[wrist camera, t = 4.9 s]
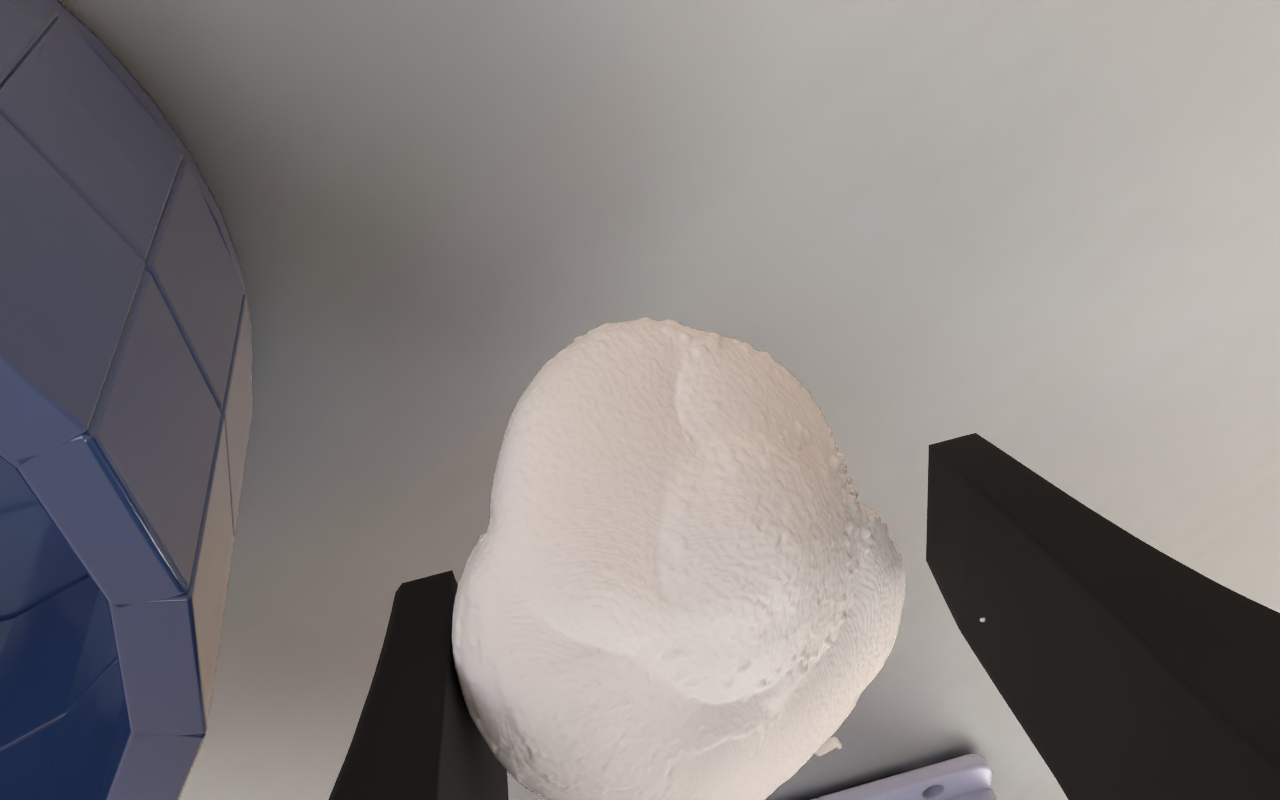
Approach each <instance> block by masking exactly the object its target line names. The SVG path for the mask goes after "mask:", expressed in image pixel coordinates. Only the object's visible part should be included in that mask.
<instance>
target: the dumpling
mask: <svg viewBox="0 0 1280 800" xmlns="http://www.w3.org/2000/svg"><path fill="white" fill-rule="evenodd" d="M837 450H838V447H836V442H835V441H834V438H833V436H832V432H831V429H830V427H829V426H827V425H826V423H825V416H824V415H823V414H822V413H821V412H820V409H819V408H818V406H817V405H816V404H815V403H814V402H813V400H812V399H811V395H810V392H808V391H807V390H806V389H804V388H803V387H802V386H801V385H800V384H799V381H798V380H797V379H795V378H794V377H793V376H792V375H791V374H790V373H789V372H788V371H787V370H786V369H785V368H784V367H782V366H781V365H779V364H778V363H777V362H776V361H774V360H773V358H772V356H771V355H770V353H768V352H765V351H762V352H760V351H755V350H754V349H753V348H752V347H751V345H750V344H748V343H741V342H740V341H739V340H736V339H730V338H728V337H721V336H720V335H719V334H717V333H712V332H703V331H702V330H695V329H693V328H691V327H687V326H684V325H680V324H678V323H677V322H675V321H674V320H669V319H668V320H664V321H654V320H652V319H650V318H648V317H645V318H641V319H638V320H636V321H626V322H619V323H606V324H603V325H601V326H599V327H598V328H596V329H592V330H590V331H588V332H587V333H586V334H585V335H583V336H577V337H576V338H575V339H574V340H573V343H572V344H570V345H568V346H567V347H566V348H565V349H563V350H561V351H559V352H558V353H557V354H556V355H555V356H554V357H553V358H552V359H550V360H548V361H547V362H546V363H545V364H544V366H543V367H542V368H541V370H540V371H539V372H538V373H537V375H536V376H535V378H534V379H533V380H532V382H531V383H530V384H529V386H528V387H527V388H526V389H525V391H524V393H523V394H522V396H521V398H520V399H519V401H518V403H517V404H516V407H515V409H514V411H513V413H512V415H511V417H510V420H509V422H508V426H507V429H506V431H505V434H504V439H503V443H502V446H501V449H500V453H499V456H498V460H497V465H496V470H495V473H494V474H493V487H492V491H491V498H490V500H491V505H490V511H491V515H490V524H489V527H488V529H487V532H486V534H482V535H480V537H479V539H478V543H477V545H476V546H474V548H473V550H472V552H471V555H470V557H469V558H468V559H467V560H466V566H465V569H464V571H463V574H462V577H461V579H460V582H459V584H458V588H457V593H456V596H455V602H454V609H453V618H452V645H453V660H454V665H455V669H456V672H457V675H458V679H459V684H460V686H461V690H462V694H463V696H464V700H465V704H466V706H467V708H468V711H469V714H470V716H471V718H472V719H473V721H474V723H475V724H476V726H477V728H478V730H479V731H480V733H481V735H482V736H483V738H484V740H485V741H486V743H487V744H488V746H489V747H490V749H491V751H492V752H493V754H494V756H495V757H496V758H497V759H498V761H499V762H500V763H501V764H502V765H503V767H504V768H505V769H506V770H507V771H508V772H509V773H510V774H511V775H512V776H513V777H514V778H515V779H516V780H517V781H518V782H520V783H521V784H522V785H524V786H525V787H526V788H528V789H530V790H531V791H532V792H534V793H536V794H540V795H542V796H544V797H545V798H547V799H549V800H765V799H766V798H767V797H768V796H769V795H771V794H772V793H773V792H774V791H775V790H776V789H777V788H778V787H779V786H780V785H782V784H783V783H784V782H786V781H787V780H788V779H790V778H791V777H792V776H793V775H794V774H796V773H797V771H798V770H799V769H800V767H801V766H803V765H804V764H805V763H806V762H807V761H808V760H809V759H810V757H811V756H812V755H813V754H816V755H817V756H822V755H824V754H826V753H828V752H829V751H832V750H833V749H835V748H836V747H837V748H838V749H841V748H842V745H841V743H840V742H839V740H838V739H837V737H831V736H832V735H833V734H834V733H835V732H836V731H837V730H838V728H839V727H840V726H841V724H842V723H843V722H844V720H845V719H846V718H847V717H848V716H849V714H850V713H851V712H852V710H853V708H854V707H855V705H856V702H857V700H858V698H859V696H860V695H861V693H862V692H863V690H864V689H866V687H867V686H868V684H869V683H870V682H871V681H872V680H873V679H874V678H875V677H876V675H877V674H878V673H879V672H880V670H881V669H882V667H883V666H884V664H885V662H886V659H887V657H888V656H889V654H890V653H891V651H892V649H893V646H894V643H895V640H896V636H897V633H898V630H899V626H900V619H901V613H902V609H903V603H904V597H905V593H906V591H905V578H906V575H905V570H904V567H903V563H902V558H901V555H900V554H899V553H898V552H897V550H896V549H895V547H894V545H893V542H892V541H891V539H890V537H889V535H888V530H887V525H886V524H885V523H883V522H881V520H880V517H879V516H878V515H877V514H876V513H875V512H873V511H871V510H870V509H868V508H867V507H865V506H861V505H859V504H858V502H857V501H855V500H856V497H857V496H858V492H857V491H856V490H853V489H852V487H851V486H850V485H849V484H850V483H851V482H852V479H851V478H850V477H849V476H847V475H846V471H847V470H846V468H847V467H846V465H845V464H842V461H843V459H844V455H842V454H840V453H838V452H837ZM980 621H981V622H985V621H986V620H985V618H984V617H983V618H980ZM830 737H831V738H830ZM829 738H830V739H829Z"/></svg>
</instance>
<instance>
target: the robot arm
mask: <svg viewBox="0 0 1280 800" xmlns="http://www.w3.org/2000/svg"><path fill="white" fill-rule="evenodd" d="M926 561H927V563H928V565H929V567H930V569H931V572H932V574H933V576H934V578H935V580H936V582H937V584H938V586H939V589H940V591H941V593H942V595H943V597H944V599H945V601H946V603H947V605H948V607H949V609H950V611H951V613H952V615H953V617H954V619H955V621H956V623H957V625H958V627H959V629H960V631H961V633H962V634H963V636H964V637H965V639H966V641H967V642H968V644H969V645H970V647H971V649H972V650H973V652H974V653H975V655H976V656H977V658H978V659H979V661H980V663H981V664H982V666H983V667H984V669H985V670H986V672H987V673H988V675H989V677H990V678H991V680H992V681H993V683H994V684H995V686H996V687H997V689H998V690H999V692H1000V694H1001V695H1002V697H1003V698H1004V700H1005V701H1006V703H1007V704H1008V706H1009V707H1010V709H1011V710H1012V712H1013V713H1014V715H1015V716H1016V718H1017V720H1018V721H1019V723H1020V724H1021V726H1022V727H1023V729H1024V730H1025V732H1026V733H1027V735H1028V736H1029V738H1030V739H1031V741H1032V743H1033V744H1034V746H1035V747H1036V749H1037V750H1038V752H1039V753H1040V755H1041V756H1042V758H1043V759H1044V761H1045V762H1046V764H1047V766H1048V767H1049V769H1050V770H1051V772H1052V773H1053V775H1054V776H1055V778H1056V779H1057V781H1058V783H1059V784H1060V786H1061V788H1062V789H1063V791H1064V793H1065V794H1066V796H1067V798H1068V800H1280V613H1278V612H1276V611H1274V610H1272V609H1269V608H1267V607H1265V606H1263V605H1261V604H1259V603H1257V602H1255V601H1253V600H1250V599H1248V598H1246V597H1244V596H1242V595H1240V594H1238V593H1236V592H1234V591H1232V590H1230V589H1228V588H1226V587H1224V586H1222V585H1220V584H1218V583H1216V582H1215V581H1213V580H1211V579H1209V578H1207V577H1205V576H1203V575H1202V574H1200V573H1198V572H1196V571H1194V570H1193V569H1191V568H1189V567H1187V566H1185V565H1183V564H1182V563H1180V562H1178V561H1176V560H1174V559H1173V558H1171V557H1169V556H1167V555H1165V554H1164V553H1162V552H1160V551H1158V550H1157V549H1155V548H1153V547H1151V546H1150V545H1148V544H1146V543H1145V542H1143V541H1141V540H1140V539H1138V538H1136V537H1134V536H1133V535H1131V534H1130V533H1128V532H1126V531H1125V530H1123V529H1122V528H1120V527H1118V526H1117V525H1115V524H1113V523H1112V522H1110V521H1109V520H1107V519H1105V518H1104V517H1102V516H1101V515H1099V514H1097V513H1096V512H1094V511H1093V510H1091V509H1089V508H1088V507H1086V506H1085V505H1083V504H1082V503H1080V502H1079V501H1077V500H1075V499H1074V498H1072V497H1071V496H1069V495H1068V494H1066V493H1065V492H1063V491H1062V490H1060V489H1059V488H1057V487H1056V486H1054V485H1053V484H1051V483H1050V482H1048V481H1047V480H1045V479H1044V478H1042V477H1041V476H1039V475H1038V474H1036V473H1035V472H1033V471H1032V470H1030V469H1029V468H1027V467H1026V466H1024V465H1023V464H1021V463H1020V462H1018V461H1017V460H1015V459H1014V458H1012V457H1011V456H1009V455H1008V454H1006V453H1005V452H1003V451H1002V450H1000V449H999V448H997V447H996V446H994V445H993V444H991V443H990V442H988V441H987V440H985V439H984V438H982V437H981V436H979V435H978V434H976V433H974V434H970V435H966V436H962V437H958V438H955V439H951V440H947V441H943V442H939V443H936V444H932V445H929V466H928V507H927V548H926ZM457 588H458V584H457V582H456V579H455V576H454V574H453V571H452V570H451V571H448V572H444V573H440V574H436V575H432V576H429V577H425V578H421V579H417V580H413V581H409V582H406V583H402V584H401V586H400V587H399V588H398V590H397V591H396V593H395V597H394V602H393V607H392V612H391V616H390V620H389V624H388V628H387V632H386V636H385V639H384V643H383V647H382V650H381V654H380V657H379V661H378V664H377V667H376V671H375V674H374V677H373V680H372V684H371V687H370V690H369V693H368V696H367V699H366V702H365V704H364V707H363V710H362V713H361V716H360V719H359V722H358V725H357V728H356V731H355V734H354V737H353V740H352V742H351V745H350V748H349V750H348V753H347V756H346V758H345V761H344V763H343V765H342V768H341V770H340V773H339V775H338V778H337V780H336V783H335V785H334V788H333V790H332V793H331V795H330V798H329V800H508V784H507V770H506V769H505V768H504V767H503V765H502V764H501V763H500V762H499V761H498V759H497V758H496V757H495V756H494V754H493V752H492V751H491V749H490V747H489V746H488V744H487V743H486V741H485V740H484V738H483V736H482V735H481V733H480V731H479V730H478V728H477V726H476V724H475V723H474V721H473V719H472V718H471V716H470V714H469V711H468V708H467V706H466V704H465V700H464V696H463V694H462V690H461V686H460V684H459V679H458V675H457V672H456V669H455V665H454V660H453V645H452V618H453V609H454V602H455V596H456V593H457ZM983 617H984V618H985V620H986V621H985V622H981V621H980V618H983ZM991 780H992V769H991V767H990V765H989V763H988V761H987V760H986V758H985V757H984V756H982V755H980V754H967V755H963V756H960V757H956V758H953V759H950V760H946V761H943V762H939V763H936V764H932V765H929V766H925V767H922V768H918V769H915V770H911V771H908V772H905V773H901V774H898V775H894V776H891V777H887V778H884V779H880V780H877V781H873V782H870V783H866V784H863V785H859V786H856V787H853V788H849V789H846V790H842V791H839V792H835V793H832V794H828V795H825V796H821V797H818V798H814V799H811V800H998V799H997V798H996V796H995V794H994V792H993V790H992V789H991Z"/></svg>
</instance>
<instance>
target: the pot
mask: <svg viewBox="0 0 1280 800" xmlns="http://www.w3.org/2000/svg"><path fill="white" fill-rule="evenodd" d="M252 370H253V357H252V332H251V316H250V311H249V306H248V301H247V296H246V291H245V286H244V281H243V276H242V271H241V267H240V264H239V261H238V258H237V256H236V253H235V250H234V247H233V245H232V242H231V239H230V236H229V233H228V231H227V228H226V225H225V222H224V220H223V217H222V214H221V212H220V210H219V208H218V206H217V204H216V202H215V200H214V198H213V197H212V195H211V193H210V191H209V189H208V187H207V185H206V183H205V181H204V179H203V177H202V175H201V174H200V172H199V170H198V168H197V166H196V164H195V162H194V160H193V158H192V157H191V155H190V154H189V152H188V151H187V149H186V148H185V146H184V145H183V144H182V142H181V141H180V139H179V138H178V136H177V135H176V133H175V132H174V130H173V129H172V128H171V126H170V125H169V123H168V122H167V120H166V119H165V117H164V116H163V115H162V113H161V112H160V110H159V109H158V107H157V106H156V104H155V103H154V102H153V100H152V99H151V98H150V97H149V95H148V94H147V93H146V92H145V91H144V90H143V89H142V87H141V86H140V85H139V84H138V83H137V82H136V81H135V79H134V78H133V77H132V76H131V75H130V74H129V73H128V71H127V70H126V69H125V68H124V67H123V66H122V65H121V63H120V62H119V61H118V60H117V59H116V58H115V57H114V56H113V54H112V53H111V52H110V51H109V50H108V49H107V48H106V46H105V45H104V44H103V43H102V42H101V41H100V40H99V39H98V38H97V37H96V36H95V35H94V34H93V33H91V32H90V31H89V30H88V29H87V28H86V27H85V26H84V25H83V24H82V23H81V22H80V21H78V20H77V19H76V18H75V17H74V16H73V15H72V14H71V13H70V12H69V11H68V10H66V9H65V8H64V7H63V6H62V5H61V4H60V3H59V2H58V1H57V0H0V800H179V799H180V797H181V794H182V792H183V789H184V787H185V785H186V782H187V780H188V777H189V775H190V773H191V770H192V768H193V765H194V763H195V761H196V758H197V756H198V754H199V751H200V749H201V746H202V744H203V742H204V739H205V737H206V733H207V727H208V720H209V713H210V707H211V700H212V693H213V686H214V679H215V672H216V665H217V658H218V651H219V644H220V637H221V630H222V623H223V616H224V609H225V602H226V595H227V588H228V581H229V575H230V568H231V561H232V554H233V547H234V536H235V531H236V524H237V517H238V510H239V503H240V496H241V489H242V482H243V475H244V468H245V461H246V454H247V447H248V441H249V434H250V427H251V420H252V413H253V396H252V379H251V378H252Z"/></svg>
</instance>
